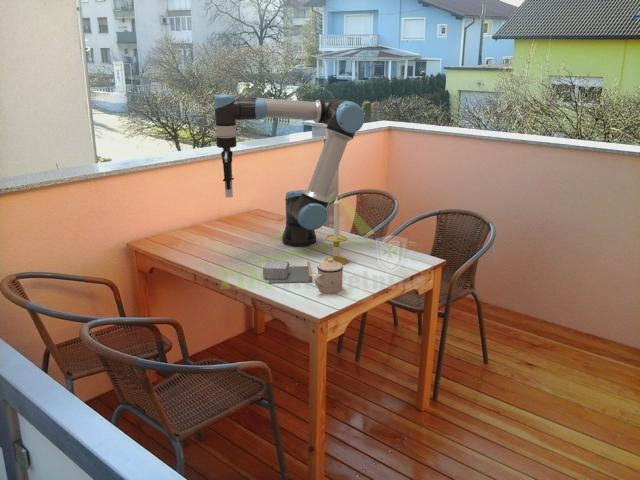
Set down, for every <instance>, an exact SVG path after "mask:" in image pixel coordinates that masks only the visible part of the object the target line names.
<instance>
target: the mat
mask: <svg viewBox="0 0 640 480" xmlns="http://www.w3.org/2000/svg"><path fill="white" fill-rule="evenodd" d="M311 266H312V265H311V261H309V260H307V265H301V266H300V265H299V266H295V265H294V266H289V273H288V276H287V278H286V279H268V284H269V285H270V284H273V285H274V284H300V283H301V284H303V283H304V284H305V283H310V284H311V283H313V274H312V273H313V272H312V267H311Z"/></svg>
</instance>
